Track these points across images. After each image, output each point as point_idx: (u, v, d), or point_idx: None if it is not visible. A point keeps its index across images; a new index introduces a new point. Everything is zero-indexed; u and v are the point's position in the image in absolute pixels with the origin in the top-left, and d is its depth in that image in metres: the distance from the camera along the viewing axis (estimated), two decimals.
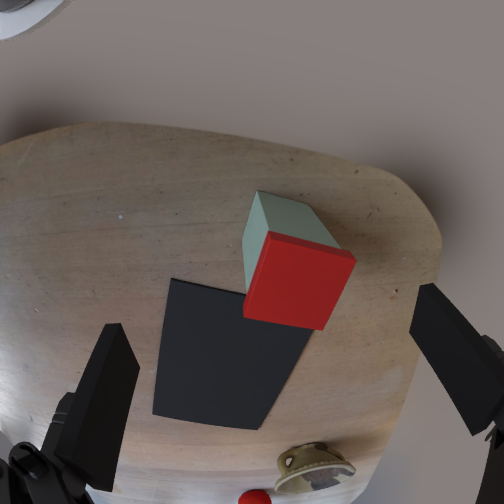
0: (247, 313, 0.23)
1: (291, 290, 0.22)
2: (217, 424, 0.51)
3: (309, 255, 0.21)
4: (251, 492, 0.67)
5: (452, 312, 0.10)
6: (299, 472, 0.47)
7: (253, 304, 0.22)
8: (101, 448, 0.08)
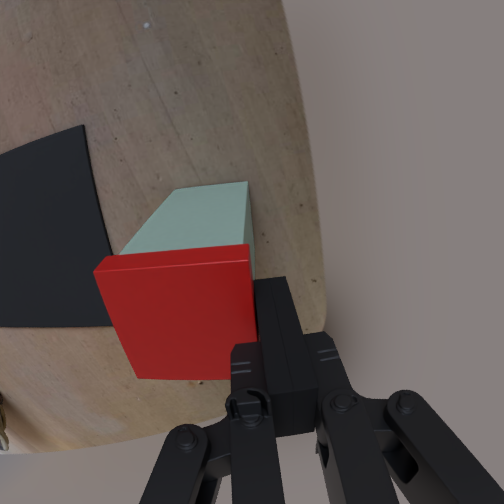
0: (101, 274, 0.12)
1: (173, 321, 0.13)
2: None
3: (243, 323, 0.13)
4: None
5: (285, 305, 0.12)
6: None
7: (121, 278, 0.12)
8: None
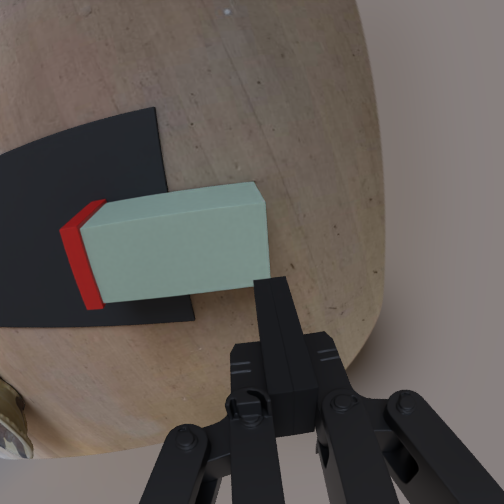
0: None
1: None
2: None
3: None
4: None
5: (285, 305, 0.12)
6: None
7: None
8: None
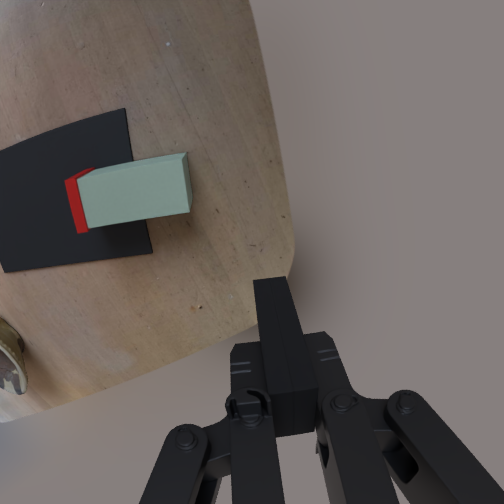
0: (84, 171, 0.35)
1: None
2: None
3: None
4: None
5: (285, 305, 0.12)
6: None
7: None
8: None
